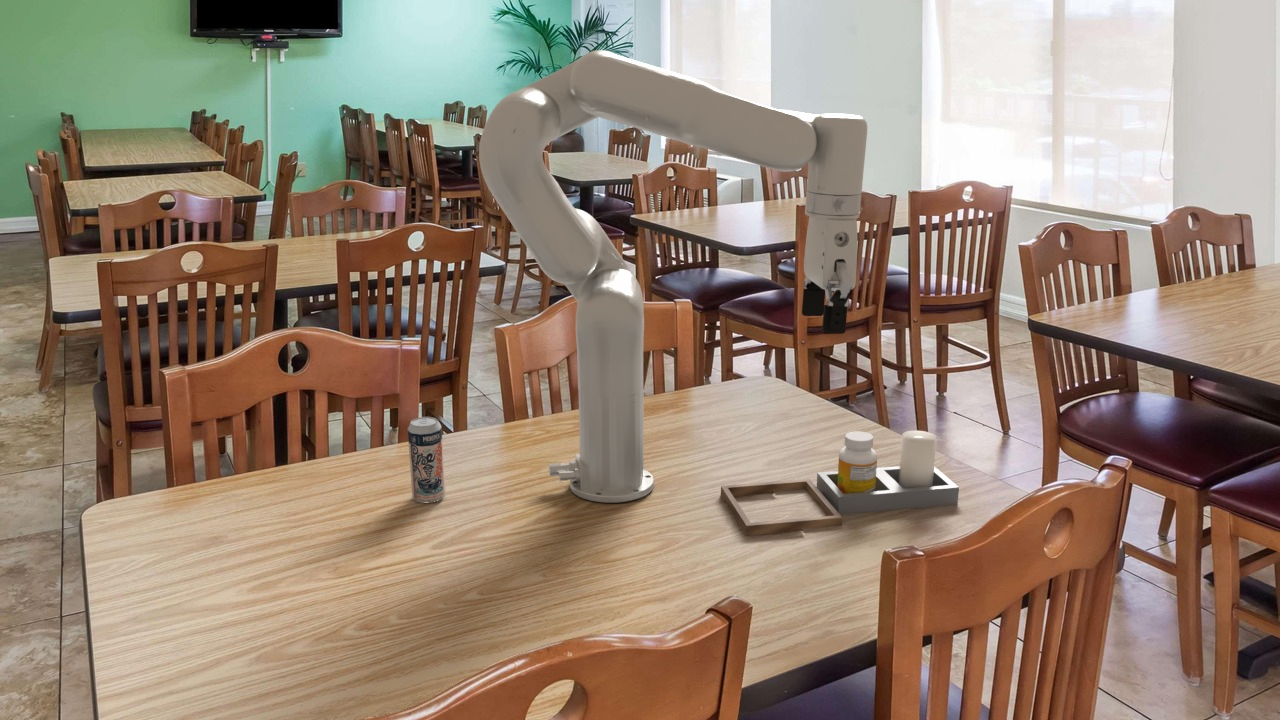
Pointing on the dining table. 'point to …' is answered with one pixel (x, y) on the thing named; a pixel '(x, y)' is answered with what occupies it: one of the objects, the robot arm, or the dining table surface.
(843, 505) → the caddy
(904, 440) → the white pillar candle
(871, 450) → the supplement bottle
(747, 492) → the tray
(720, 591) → the dining table surface
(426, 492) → the beer can
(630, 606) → the dining table surface
